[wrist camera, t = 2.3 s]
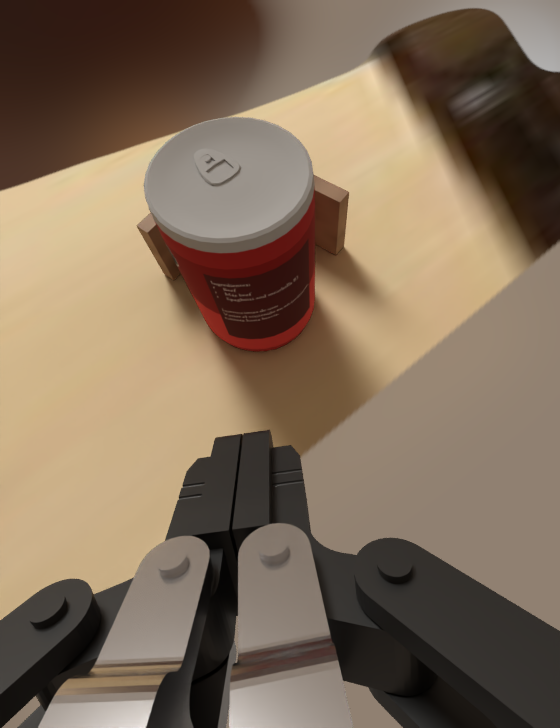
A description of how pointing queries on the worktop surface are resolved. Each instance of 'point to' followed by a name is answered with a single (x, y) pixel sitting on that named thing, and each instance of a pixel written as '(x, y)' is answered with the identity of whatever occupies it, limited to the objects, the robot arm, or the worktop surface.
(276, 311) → the canned food
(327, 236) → the v-block stop
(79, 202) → the worktop surface
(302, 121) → the worktop surface
